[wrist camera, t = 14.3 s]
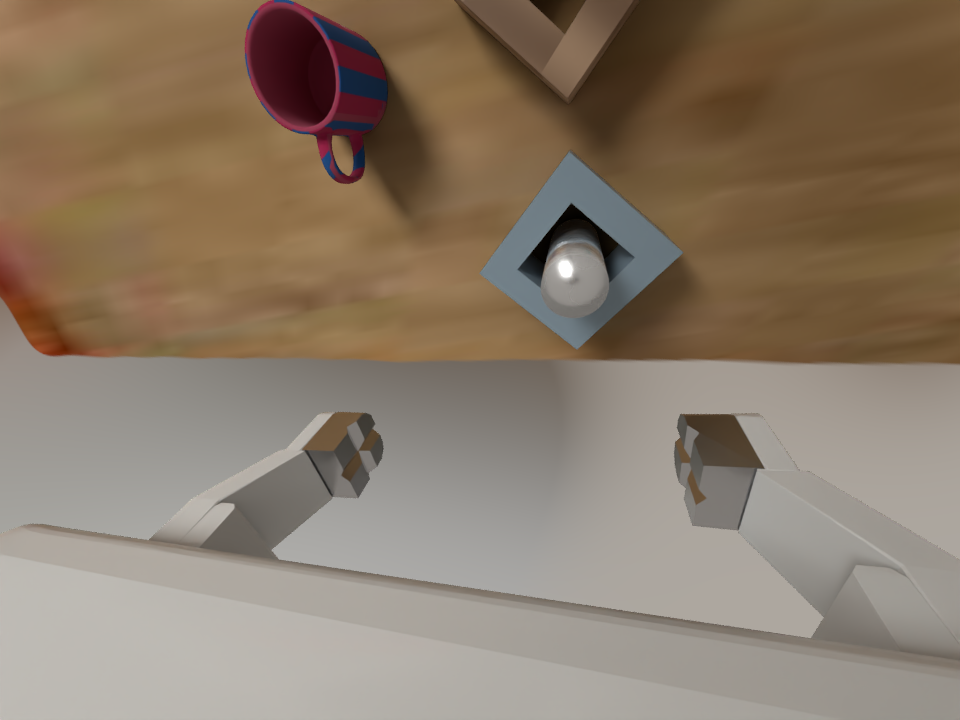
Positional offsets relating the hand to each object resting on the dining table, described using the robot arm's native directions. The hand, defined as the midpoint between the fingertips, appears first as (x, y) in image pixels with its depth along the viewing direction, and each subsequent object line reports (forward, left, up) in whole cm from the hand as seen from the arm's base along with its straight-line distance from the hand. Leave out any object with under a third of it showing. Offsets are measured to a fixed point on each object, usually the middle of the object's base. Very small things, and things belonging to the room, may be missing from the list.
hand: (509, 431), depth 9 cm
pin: (0, +2, -25) cm, 25 cm away
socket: (0, +2, -25) cm, 25 cm away
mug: (+3, -19, -25) cm, 32 cm away
